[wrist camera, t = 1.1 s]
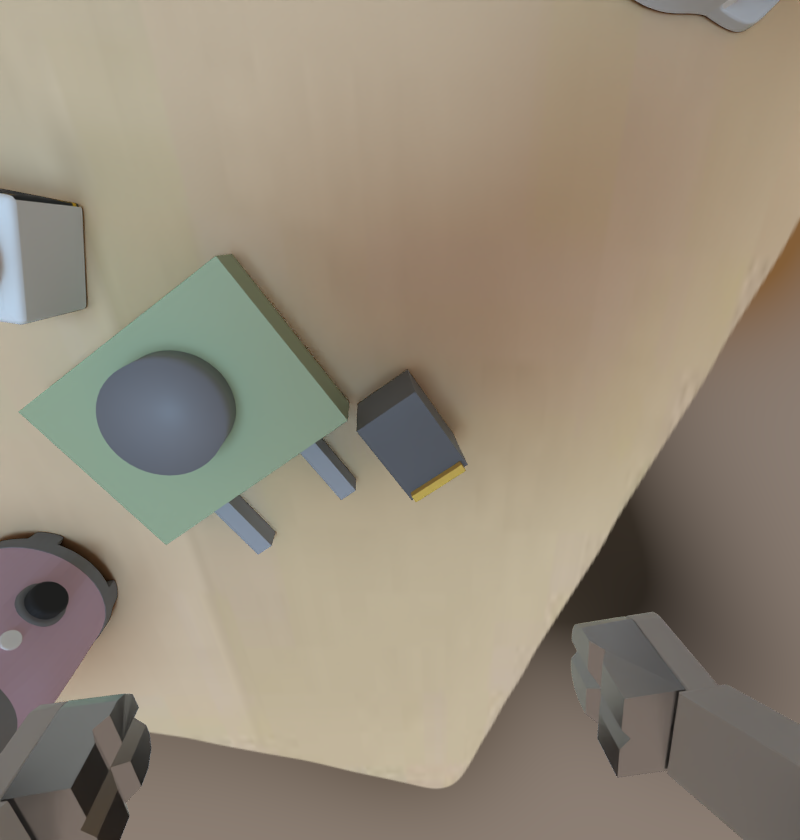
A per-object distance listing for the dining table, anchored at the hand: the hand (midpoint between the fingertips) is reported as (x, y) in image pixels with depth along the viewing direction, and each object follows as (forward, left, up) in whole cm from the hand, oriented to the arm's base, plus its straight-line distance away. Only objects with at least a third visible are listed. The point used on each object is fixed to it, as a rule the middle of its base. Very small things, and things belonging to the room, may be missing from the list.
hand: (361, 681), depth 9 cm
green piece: (+13, -1, -30) cm, 33 cm away
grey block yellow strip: (+1, +7, -30) cm, 31 cm away
